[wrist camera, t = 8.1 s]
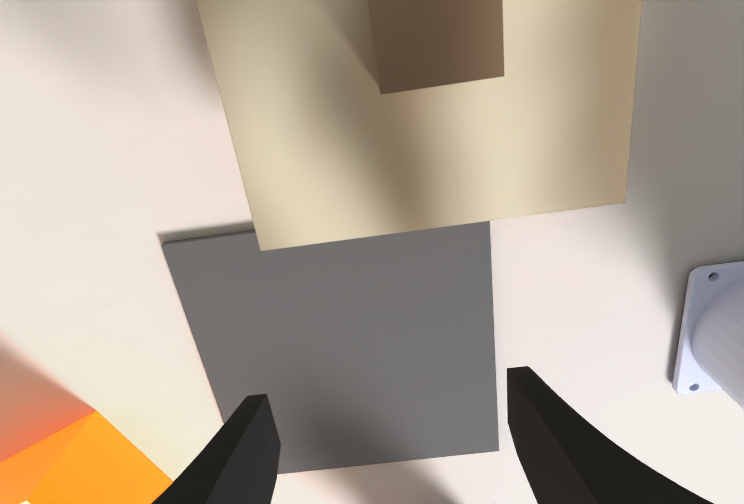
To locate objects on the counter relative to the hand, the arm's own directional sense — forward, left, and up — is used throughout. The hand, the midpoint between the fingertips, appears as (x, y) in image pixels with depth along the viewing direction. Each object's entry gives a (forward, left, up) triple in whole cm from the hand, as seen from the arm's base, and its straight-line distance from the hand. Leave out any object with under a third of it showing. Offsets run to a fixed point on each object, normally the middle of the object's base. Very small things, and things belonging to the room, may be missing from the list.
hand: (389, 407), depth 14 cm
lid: (-2, -10, -5) cm, 12 cm away
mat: (+3, +5, -10) cm, 12 cm away
